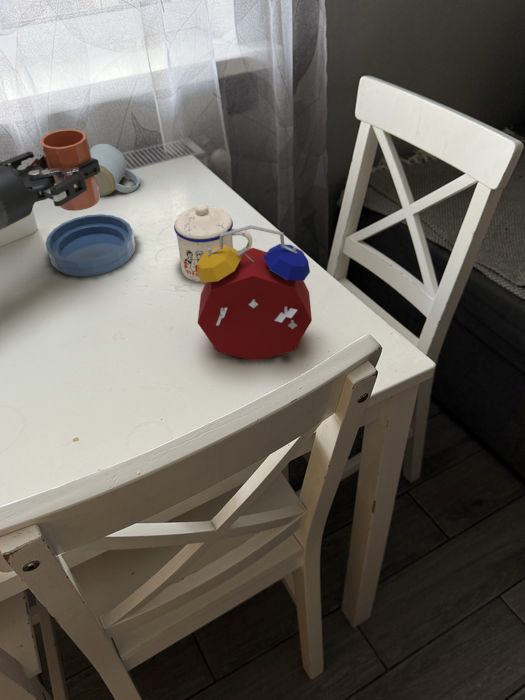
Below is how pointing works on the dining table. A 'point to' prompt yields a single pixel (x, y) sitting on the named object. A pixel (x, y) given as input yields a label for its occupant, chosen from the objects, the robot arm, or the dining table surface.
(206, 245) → the teacup with lid
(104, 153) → the ceramic mug
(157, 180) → the dining table surface
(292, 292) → the alarm clock
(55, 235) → the bowl
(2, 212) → the robot arm
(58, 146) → the cup
